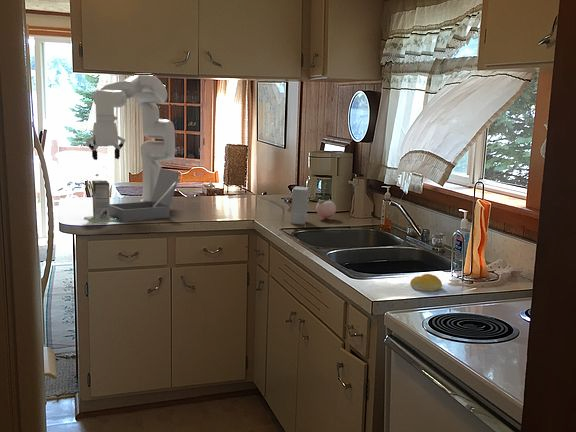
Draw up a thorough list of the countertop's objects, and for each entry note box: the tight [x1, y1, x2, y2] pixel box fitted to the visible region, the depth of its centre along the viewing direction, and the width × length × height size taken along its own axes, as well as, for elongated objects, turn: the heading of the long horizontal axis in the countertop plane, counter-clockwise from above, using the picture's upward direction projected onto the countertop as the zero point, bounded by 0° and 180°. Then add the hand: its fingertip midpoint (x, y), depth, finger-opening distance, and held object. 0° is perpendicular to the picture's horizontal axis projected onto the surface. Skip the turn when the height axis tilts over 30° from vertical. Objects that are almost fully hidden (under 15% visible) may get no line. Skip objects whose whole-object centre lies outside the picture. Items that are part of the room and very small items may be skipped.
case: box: [110, 168, 181, 223], centre depth 287 cm, size 20×27×20 cm
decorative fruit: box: [315, 197, 337, 220], centre depth 292 cm, size 9×8×10 cm
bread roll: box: [409, 273, 443, 293], centre depth 186 cm, size 8×9×4 cm
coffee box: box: [91, 180, 111, 220], centre depth 276 cm, size 9×6×16 cm
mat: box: [83, 215, 119, 224], centre depth 277 cm, size 13×10×1 cm
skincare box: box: [290, 185, 310, 225], centre depth 282 cm, size 8×7×16 cm
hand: (106, 159), depth 276 cm, fingers open, 9 cm apart
